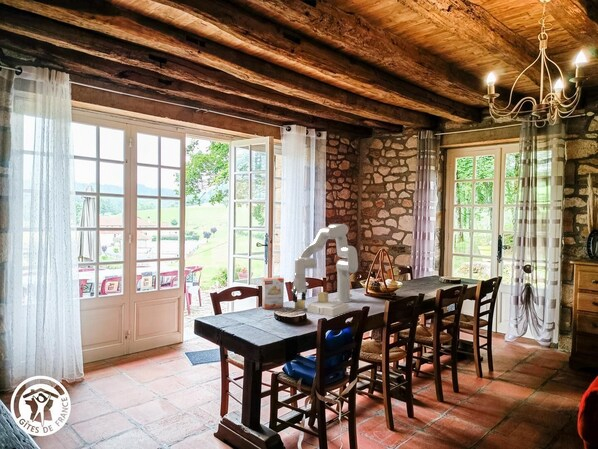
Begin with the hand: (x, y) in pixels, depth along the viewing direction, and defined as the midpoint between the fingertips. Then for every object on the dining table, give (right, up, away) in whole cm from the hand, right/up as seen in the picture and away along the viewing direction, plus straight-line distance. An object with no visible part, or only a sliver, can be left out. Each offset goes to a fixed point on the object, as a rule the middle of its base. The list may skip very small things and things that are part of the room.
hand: (299, 300), depth 283 cm
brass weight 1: (0, -6, 0) cm, 6 cm away
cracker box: (-18, -6, +2) cm, 19 cm away
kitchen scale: (+19, -6, -8) cm, 22 cm away
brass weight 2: (+16, 0, -5) cm, 17 cm away
